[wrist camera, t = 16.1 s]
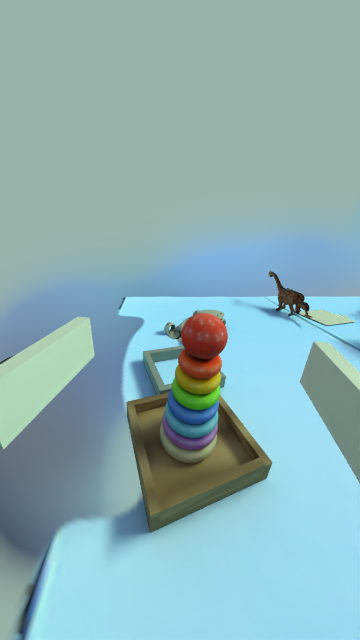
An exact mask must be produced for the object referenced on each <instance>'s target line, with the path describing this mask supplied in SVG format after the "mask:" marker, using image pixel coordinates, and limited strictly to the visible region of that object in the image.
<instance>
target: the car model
mask: <svg viewBox="0 0 360 640" xmlns="http://www.w3.org/2000/svg"><path fill="white" fill-rule="evenodd" d="M199 313H209V314H213V315H215V316H216V317H218V318H219V319H220V320H221V321H222V322H223V323H224V325H225V324H226V321H225V319H223V317H224V313H222V312H220V311H216V310H203V311H195V312H194V313H193V315H196V314H199ZM188 319H189V318H188ZM188 319H186V320H185V321H184V322H182V323H181V324H180V325H179V326H177V327H176V328H175V325H174V324H173V323H171V322H169V323H167V324H166V326H165V328H164V331H165V333H166V334H167V335H168V336H169V337H170V338H172V339H178V341H179V342H181V343H182V340H181V332H182V328H183V325H184V324H185V322H186V321H187V320H188ZM170 326H171V330H170V331H168V330H169V327H170ZM177 328H178V329H177Z"/></svg>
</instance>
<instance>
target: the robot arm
mask: <svg viewBox="0 0 360 640" xmlns="http://www.w3.org/2000/svg"><path fill="white" fill-rule="evenodd" d="M93 357H94V348H93V341H92V333H91V326H90V319H89V318H84V317H77V318H75V319H74V320H72V321H70V322H69V323H67V324H65V325H64V326H62V327H61V328H59V329H57V330H56V331H54V332H52V333H51V334H49V335H48V336H46V337H44V338H43V339H41V340H40V341H38V342H36V343H35V344H33V345H31V346H30V347H28V348H27V349H25V350H23V351H22V352H20V353H18V354H17V355H14V356H12V357H9V358H7V359H5V360H4V361H2V362H1V363H0V449H4V448H6V446H7V445H8V444H9V443H10V442H11V441H12V440H13V439H14V438H15V437H16V436H17V435H18V434H19V433H20V432H21V431H22V430H23V429H24V428H25V427H26V426H27V425H28V424H29V423H30V422H31V421H32V420H33V419H34V418H35V417H36V416H37V415H38V413H39V412H40V411H41V410H42V409H43V408H44V407H45V406H46V405H47V404H48V403H49V402H50V401H51V400H52V399H53V398H54V397H55V396H56V395H57V394H58V393H59V392H60V391H61V390H62V389H63V388H64V387H65V386H66V385H67V384H68V383H69V382H70V380H71V379H72V378H73V377H74V376H75V375H76V374H77V373H78V372H79V371H80V370H81V369H82V368H83V367H84V366H85V365H86V364H87V363H88V362H89V361H90V360H91V359H92V358H93ZM300 383H301V384H302V386H303V388H304V389H305V391H306V393H307V394H308V396H309V398H310V400H311V401H312V403H313V405H314V406H315V408H316V410H317V411H318V413H319V415H320V416H321V418H322V420H323V422H324V423H325V425H326V427H327V428H328V430H329V432H330V433H331V435H332V437H333V438H334V440H335V442H336V444H337V445H338V447H339V449H340V450H341V452H342V454H343V455H344V457H345V459H346V460H347V462H348V464H349V466H350V467H351V469H352V471H353V472H354V474H355V476H356V477H357V479H358V481H359V483H360V372H359V371H358V370H357V369H356V368H355V367H354V366H353V365H352V364H351V363H349V362H348V361H347V360H346V359H345V358H344V357H343V356H342V355H341V354H340V353H339V352H338V351H337V350H336V349H335V348H333V347H332V346H331V345H330V344H329V343H325V342H315V341H314V342H313V345H312V348H311V351H310V353H309V356H308V359H307V362H306V365H305V368H304V371H303V374H302V377H301V380H300Z"/></svg>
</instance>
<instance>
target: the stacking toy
mask: <svg viewBox="0 0 360 640" xmlns="http://www.w3.org/2000/svg"><path fill="white" fill-rule="evenodd" d="M227 339H228V334H227V329H226V326H225V325H224V323H223V322H222V321H221V320H220V319H219V318H218V317H216V316H215V315H213V314H209V313H199V314H196V315H193V316H192V317H190V318H189V319H188V320H187V321H186V322H185V324H184V325H183V328H182V332H181V340H182V344H183V346H184V348H185V349H183V350H182V351H181V352H180V354H179V357H178V363H179V365H178V366H177V367H176V370H175V378H174V380H173V383H172V389H171V390H170V392H169V394H168V401H167V403H166V406H165V412H164V415H163V419H162V423H161V427H160V439H161V443H162V445H163V447H164V449H165V450H166V451H167V453H168V454H169V455H171V456H172V457H173V458H175V459H177V460H179V461H181V462H185V463H196V462H200V461H202V460H204V459H206V458H207V457H208V456H209V455H210V454H211V453H212V452H213V450H214V448H215V445H216V442H217V429H218V423H217V422H218V407H219V400H218V399H219V396H220V386H219V384H220V382H221V375H220V370H221V367H222V361H221V358H220V356H219V354H220V353H221V352H222V351H223V349H224V348H225V346H226V343H227Z"/></svg>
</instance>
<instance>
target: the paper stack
mask: <svg viewBox="0 0 360 640" xmlns="http://www.w3.org/2000/svg"><path fill="white" fill-rule="evenodd" d="M307 312H308V315H309V316H312V317H313V318H311V319H313V320H316V321H318V322H320V323H323V324H325V325H334V324H342V323H349V322H356V321H353V320H350V319H347V318H349V317H347V316H344V315H341V314H340V315H341V316H339V315H336V314H333V313H330V312H328V311H325V310H315V311H307ZM299 314H301V315H303V316H304V315H305V314H306V313H305V311H304V312H300V313H299ZM342 316H343V317H342Z"/></svg>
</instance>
